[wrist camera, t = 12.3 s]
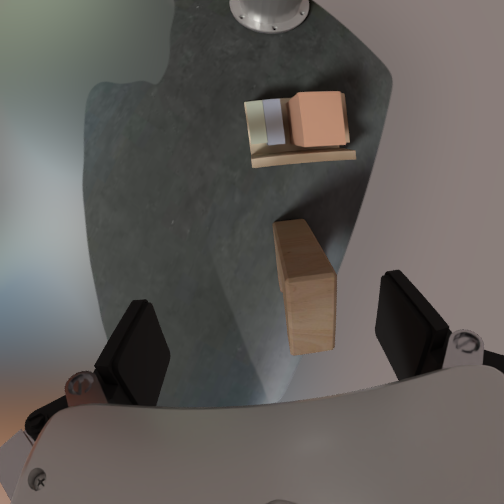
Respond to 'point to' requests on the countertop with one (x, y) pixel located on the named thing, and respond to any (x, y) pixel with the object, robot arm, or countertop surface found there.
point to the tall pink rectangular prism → (316, 119)
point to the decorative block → (305, 287)
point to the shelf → (285, 136)
